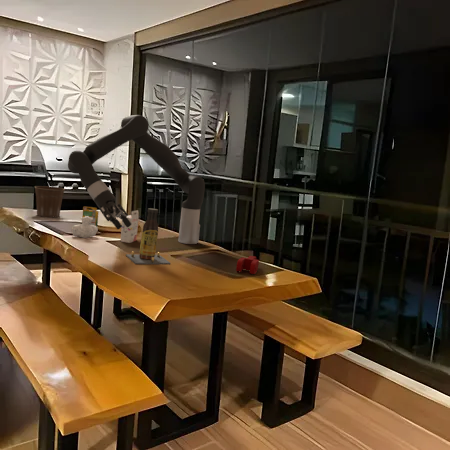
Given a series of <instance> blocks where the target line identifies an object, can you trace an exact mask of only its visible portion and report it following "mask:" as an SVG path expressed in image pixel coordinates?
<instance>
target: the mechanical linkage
mask: <svg viewBox="0 0 450 450" xmlns="http://www.w3.org/2000/svg"><path fill="white" fill-rule="evenodd" d="M259 264H260V260H259V259H257V256H255V255H249V256H248V257H243V256H242V257H240V258H239V259H237V262H236V265H235V266H236V267H235V269H236V270H235V271H240V272H241V271H242V270H243V269H246V270H250V271H249V274H250V273H251V274H255V273H256V272H257V270H258V271H259ZM243 271H244V270H243ZM243 271H242V272H243ZM240 272H239V273H240ZM242 272H241V273H242ZM257 273H258V272H257ZM257 273H256V274H257ZM251 274H250V275H251ZM256 274H255V275H256Z"/></svg>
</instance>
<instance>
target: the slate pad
mask: <svg viewBox="0 0 450 450" xmlns="http://www.w3.org/2000/svg"><path fill="white" fill-rule="evenodd" d="M131 254H132V253H130V254H127V253H126V254H125V256H126V258H127V259H129V260H130V261H131V262H132V263H133V264H135V265H171V262H170V261H169V260H167V259H166V258H165V257H164V256H162V255H160V257H157V254H155V256H154V263H152V262H151V260H152V259H150V260H147V259H141V258H140V257H139V255H140V253H139V254H136V253H134V257H131Z"/></svg>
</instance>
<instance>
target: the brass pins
mask: <svg viewBox="0 0 450 450" xmlns="http://www.w3.org/2000/svg"><path fill="white" fill-rule="evenodd" d="M130 254H131V257H134V254H135V251H133V250H132V251H131V253H130ZM156 255H157V257H160V256H161V252H160V251H157V253H156ZM151 262H152V263H154V257H152V260H151Z"/></svg>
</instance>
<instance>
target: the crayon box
mask: <svg viewBox="0 0 450 450" xmlns="http://www.w3.org/2000/svg"><path fill="white" fill-rule="evenodd" d="M85 216H89V217H90V218H93V220H91V223H89V224H90V225H94V226H96V227H97V228H98V222H99V211H98V208H97V207H93V206H83V207H82V216H81V217H82V218H83V217H85ZM82 222H83V220H81V225H82V224H83V223H82Z"/></svg>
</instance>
